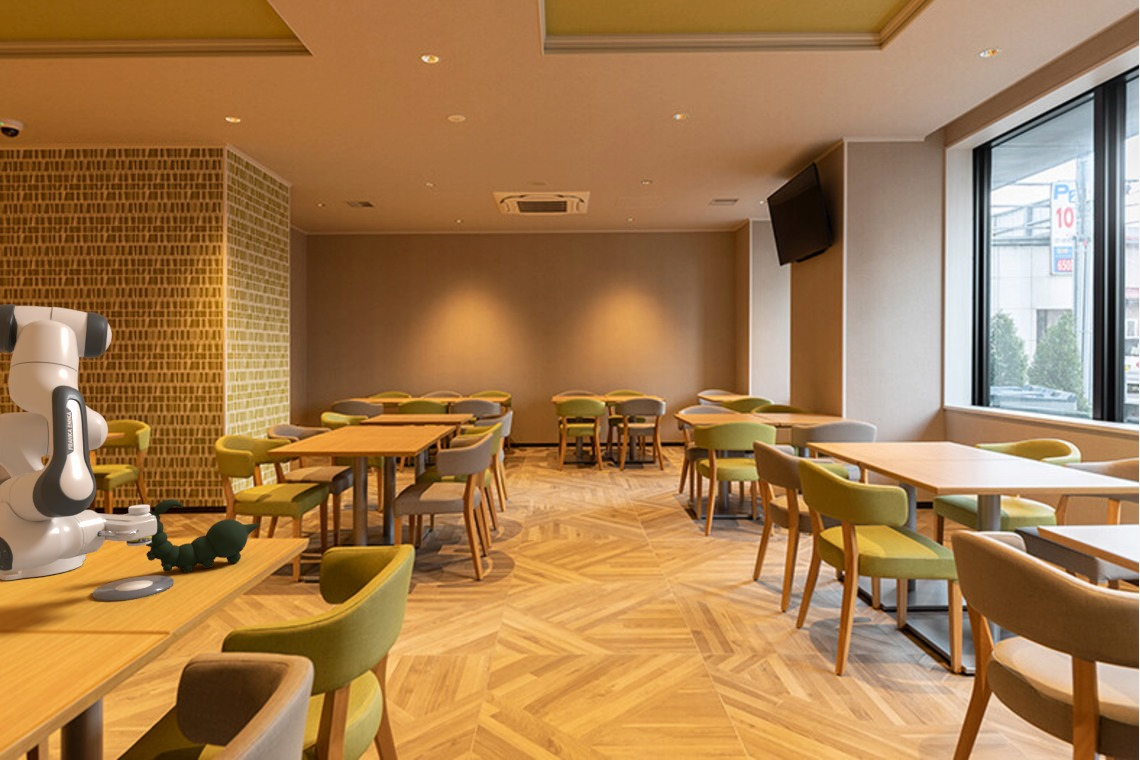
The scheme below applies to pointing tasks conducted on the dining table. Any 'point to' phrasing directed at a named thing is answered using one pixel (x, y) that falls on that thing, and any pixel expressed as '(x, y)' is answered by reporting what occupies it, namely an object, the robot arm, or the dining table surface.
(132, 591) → the charcoal plate
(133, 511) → the supplement bottle
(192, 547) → the toy figurine
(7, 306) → the robot arm
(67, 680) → the dining table surface
